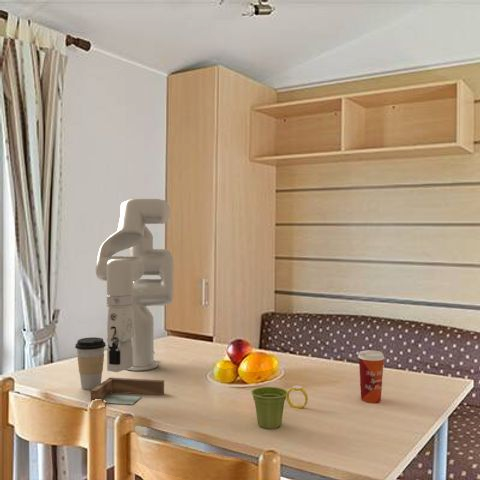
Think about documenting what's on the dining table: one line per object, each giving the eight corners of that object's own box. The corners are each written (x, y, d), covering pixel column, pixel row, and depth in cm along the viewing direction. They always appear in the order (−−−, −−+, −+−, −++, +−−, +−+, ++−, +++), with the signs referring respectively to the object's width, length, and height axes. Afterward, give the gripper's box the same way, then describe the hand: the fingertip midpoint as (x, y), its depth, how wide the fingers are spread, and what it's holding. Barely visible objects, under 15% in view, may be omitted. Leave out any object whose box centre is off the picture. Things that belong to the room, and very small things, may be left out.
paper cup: (369, 405, 161) (369, 357, 160) (352, 398, 167) (352, 351, 167) (390, 401, 164) (390, 354, 164) (372, 394, 171) (373, 348, 170)
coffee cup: (98, 392, 173) (97, 343, 173) (69, 390, 175) (69, 342, 175) (111, 383, 183) (110, 337, 182) (84, 381, 185) (83, 336, 184)
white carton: (132, 367, 167) (132, 333, 167) (116, 372, 161) (116, 337, 161) (123, 365, 169) (123, 332, 169) (107, 370, 163) (107, 336, 163)
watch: (308, 408, 160) (309, 387, 159) (305, 411, 157) (306, 390, 157) (288, 403, 162) (289, 383, 162) (284, 406, 160) (286, 386, 159)
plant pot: (249, 419, 150) (249, 386, 150) (284, 417, 151) (284, 385, 151) (253, 432, 141) (253, 398, 140) (290, 431, 142) (290, 396, 141)
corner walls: (109, 390, 175) (109, 377, 175) (164, 393, 172) (164, 380, 172) (90, 404, 162) (90, 390, 162) (149, 407, 159) (149, 393, 159)
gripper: (120, 305, 155) (121, 369, 156) (142, 297, 172) (142, 354, 173) (95, 304, 157) (95, 367, 157) (119, 296, 174) (119, 353, 174)
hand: (120, 360), depth 165 cm, fingers closed on white carton, 7 cm apart
